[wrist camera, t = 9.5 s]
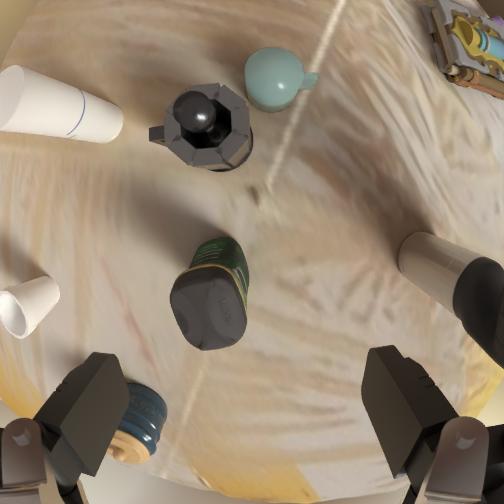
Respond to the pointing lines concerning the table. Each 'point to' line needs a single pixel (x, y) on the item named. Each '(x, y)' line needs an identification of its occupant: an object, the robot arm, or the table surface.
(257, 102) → the teal mug
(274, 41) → the table surface
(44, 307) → the foam cup
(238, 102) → the faceted grey mug
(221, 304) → the coffee jar
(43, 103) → the cylindrical container
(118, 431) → the canister
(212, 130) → the plunger
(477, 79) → the decorative book
